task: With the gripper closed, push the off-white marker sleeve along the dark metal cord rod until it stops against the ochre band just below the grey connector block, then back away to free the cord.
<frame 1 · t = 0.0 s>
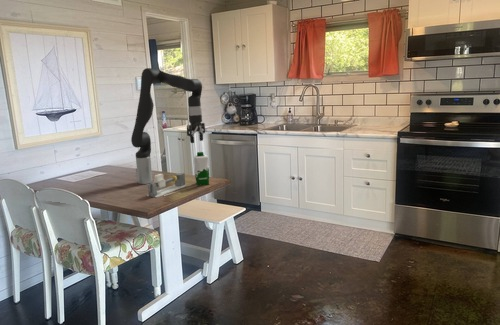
hand: (196, 141, 230), 29 cm above the table, fingers open, 8 cm apart
milk carton: (202, 184, 249), on the table
cord rig: (167, 191, 236), on the table
marker sleeve: (159, 181, 229), point 7 cm above the table, slide at 0.0 cm
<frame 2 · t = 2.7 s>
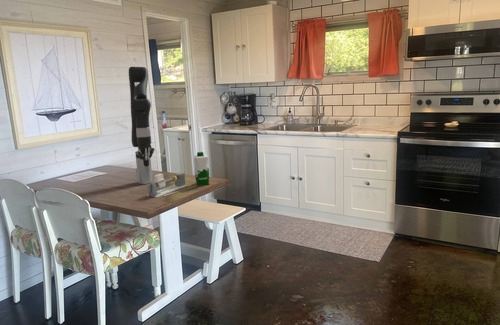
hand: (146, 166, 219), 18 cm above the table, fingers closed
nothing on the table moved.
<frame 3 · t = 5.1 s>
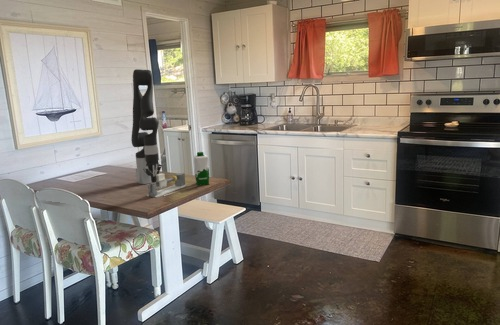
hand: (154, 182, 226), 8 cm above the table, fingers closed
marker sleeve: (160, 180, 230), point 7 cm above the table, slide at 1.0 cm, touching gripper
everything else where it was.
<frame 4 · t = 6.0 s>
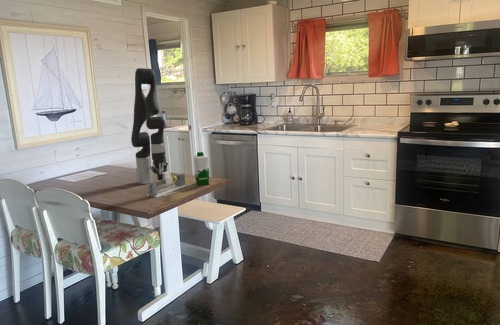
hand: (160, 180, 230), 8 cm above the table, fingers closed
marker sleeve: (166, 178, 234), point 7 cm above the table, slide at 6.3 cm, touching gripper
everything else where it was.
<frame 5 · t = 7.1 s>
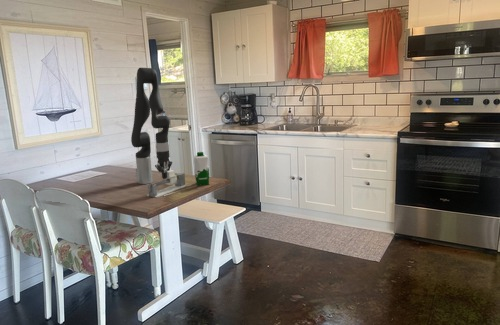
hand: (164, 178, 233), 8 cm above the table, fingers closed
marker sleeve: (170, 177, 237), point 7 cm above the table, slide at 10.0 cm, touching cord rig, gripper
everything else where it was.
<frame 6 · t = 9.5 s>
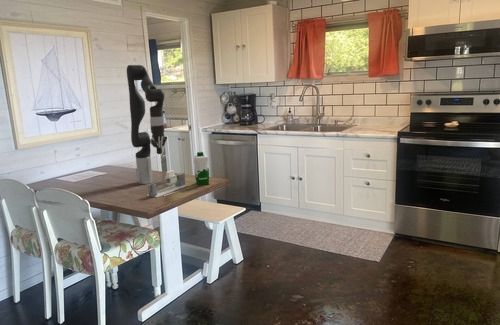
hand: (159, 153, 228), 23 cm above the table, fingers closed
marker sleeve: (170, 177, 237), point 7 cm above the table, slide at 10.0 cm, touching cord rig
everything else where it was.
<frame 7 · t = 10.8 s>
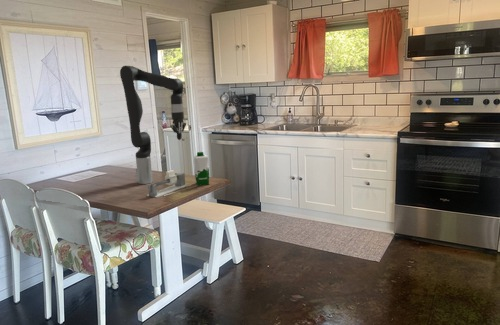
hand: (179, 138, 246), 29 cm above the table, fingers closed
nothing on the table moved.
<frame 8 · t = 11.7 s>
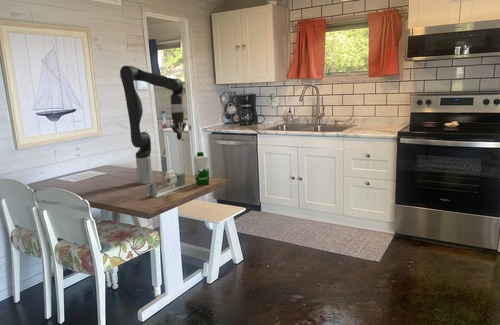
hand: (179, 138, 246), 29 cm above the table, fingers closed
nothing on the table moved.
at the end: marker sleeve slide at 10.0 cm; the gripper is holding nothing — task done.
